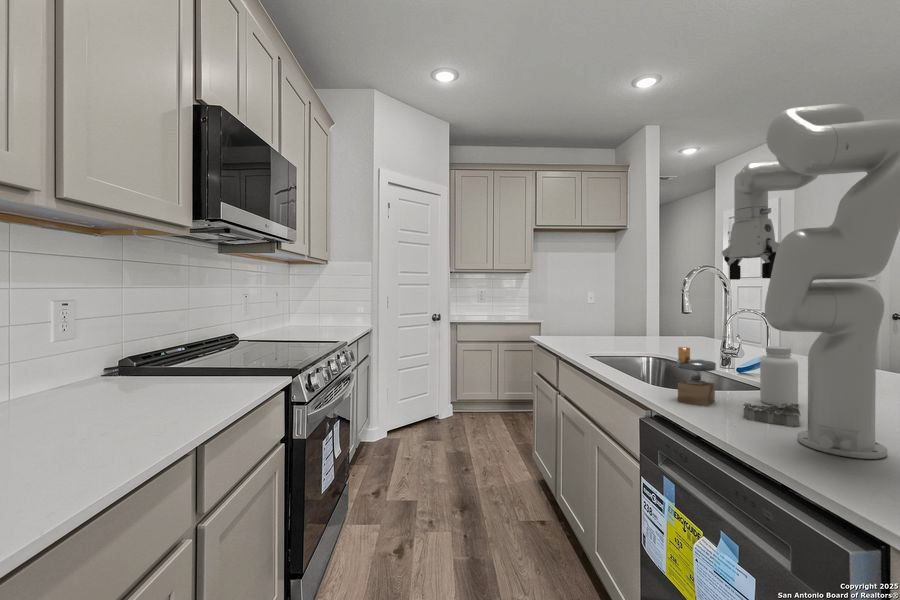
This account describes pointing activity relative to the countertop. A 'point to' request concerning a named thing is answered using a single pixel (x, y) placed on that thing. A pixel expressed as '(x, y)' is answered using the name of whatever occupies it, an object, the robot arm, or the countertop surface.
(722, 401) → the countertop surface
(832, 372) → the robot arm
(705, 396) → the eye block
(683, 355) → the grey knobbed disc
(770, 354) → the pill bottle
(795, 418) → the egg carton
